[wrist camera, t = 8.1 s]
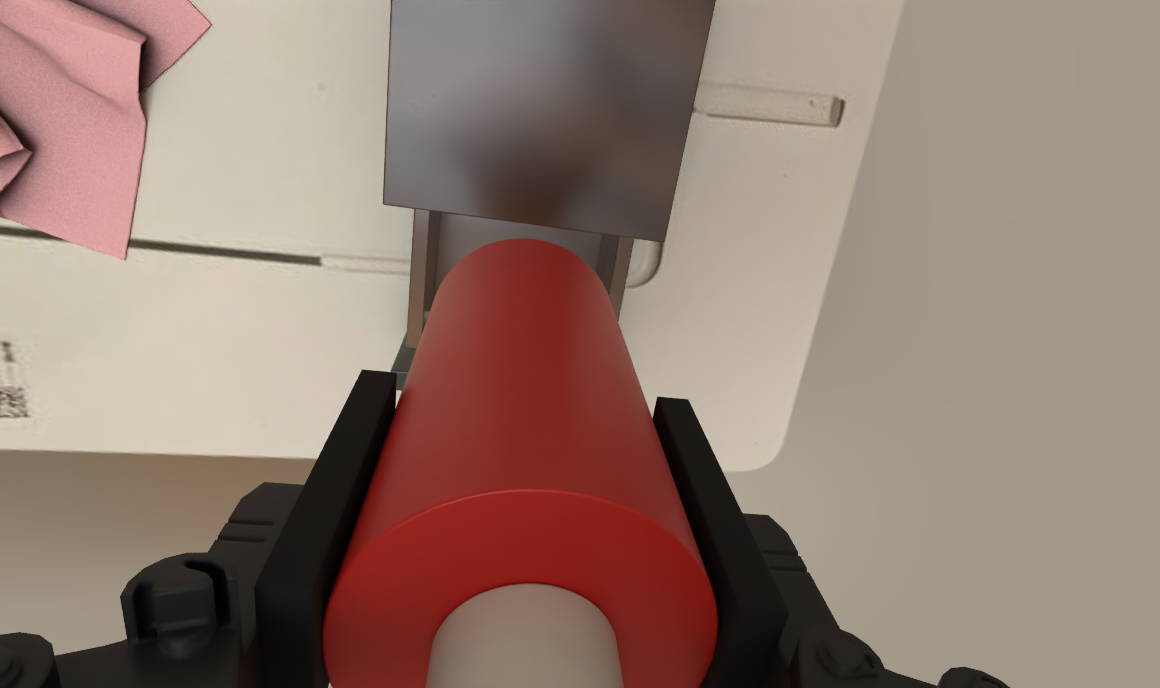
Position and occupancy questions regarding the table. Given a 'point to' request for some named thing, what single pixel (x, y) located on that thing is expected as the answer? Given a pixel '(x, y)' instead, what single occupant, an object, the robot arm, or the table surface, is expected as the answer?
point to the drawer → (457, 236)
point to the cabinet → (543, 109)
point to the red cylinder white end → (521, 503)
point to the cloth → (81, 109)
